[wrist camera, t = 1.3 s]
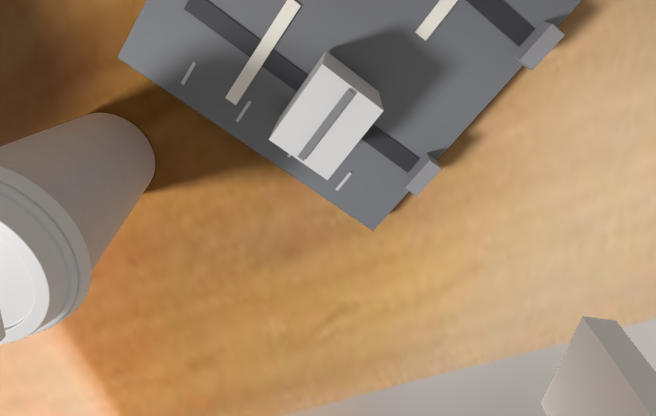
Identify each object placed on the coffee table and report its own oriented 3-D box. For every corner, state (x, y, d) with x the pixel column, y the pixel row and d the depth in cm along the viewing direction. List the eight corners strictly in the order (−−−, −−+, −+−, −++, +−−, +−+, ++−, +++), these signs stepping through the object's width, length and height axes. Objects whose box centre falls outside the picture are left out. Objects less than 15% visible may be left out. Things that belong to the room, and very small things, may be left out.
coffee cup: (47, 70, 32) (-173, 144, 18) (188, 116, 33) (77, 217, 19) (39, 193, 36) (-144, 327, 22) (164, 230, 37) (60, 379, 24)
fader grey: (279, 116, 30) (268, 140, 26) (325, 50, 28) (322, 64, 24) (330, 153, 31) (327, 181, 27) (378, 91, 29) (383, 111, 25)
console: (130, 52, 31) (107, 61, 28) (319, -311, 23) (315, -354, 20) (372, 218, 36) (375, 241, 33) (598, -35, 28) (629, -36, 25)
